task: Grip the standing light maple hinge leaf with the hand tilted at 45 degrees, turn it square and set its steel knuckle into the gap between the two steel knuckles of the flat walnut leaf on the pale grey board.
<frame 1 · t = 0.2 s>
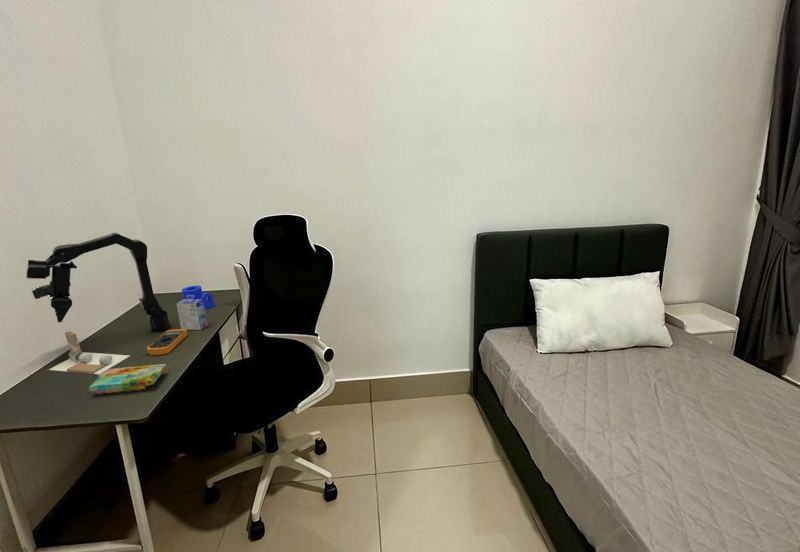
hand: (58, 319, 178), 15 cm above the table, tool tilted 15°, fingers open, 9 cm apart
ink cartridge box: (195, 327, 202), on the table
puzzle game: (131, 385, 158), on the table
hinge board: (97, 365, 173), on the table
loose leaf: (78, 359, 176), point 1 cm above the table, touching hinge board
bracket: (200, 305, 230), on the table
multimeter: (168, 346, 186), on the table
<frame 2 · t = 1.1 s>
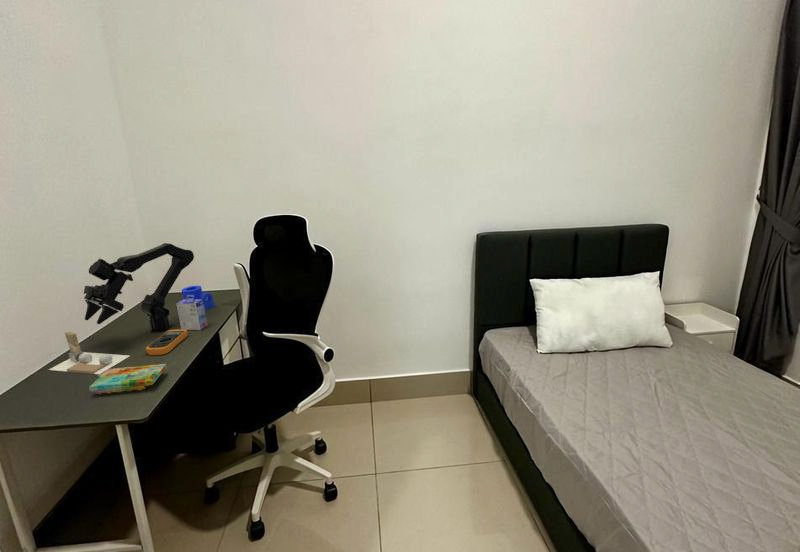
hand: (91, 321, 178), 13 cm above the table, tool tilted 45°, fingers open, 9 cm apart
nothing on the table moved.
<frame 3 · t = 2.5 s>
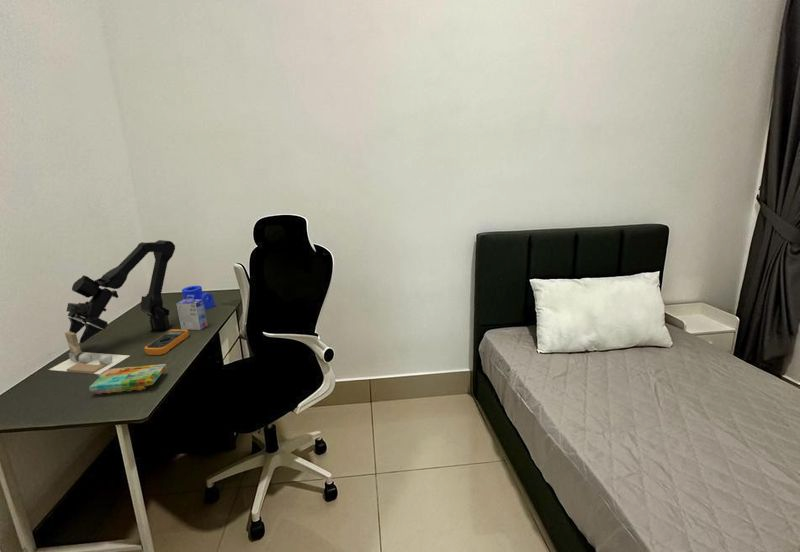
hand: (74, 340, 174), 9 cm above the table, tool tilted 45°, fingers open, 9 cm apart
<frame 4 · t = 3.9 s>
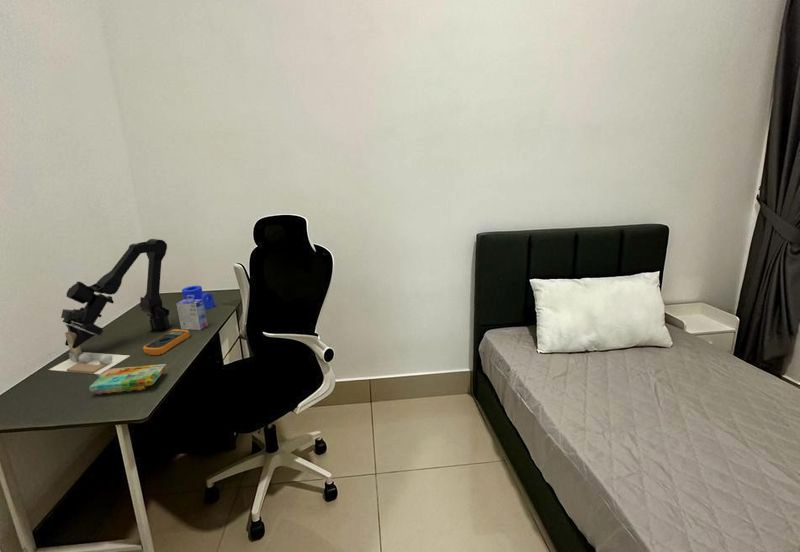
hand: (69, 346, 173), 7 cm above the table, tool tilted 45°, fingers closed on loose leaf, 5 cm apart
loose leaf: (78, 359, 176), point 1 cm above the table, touching gripper, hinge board
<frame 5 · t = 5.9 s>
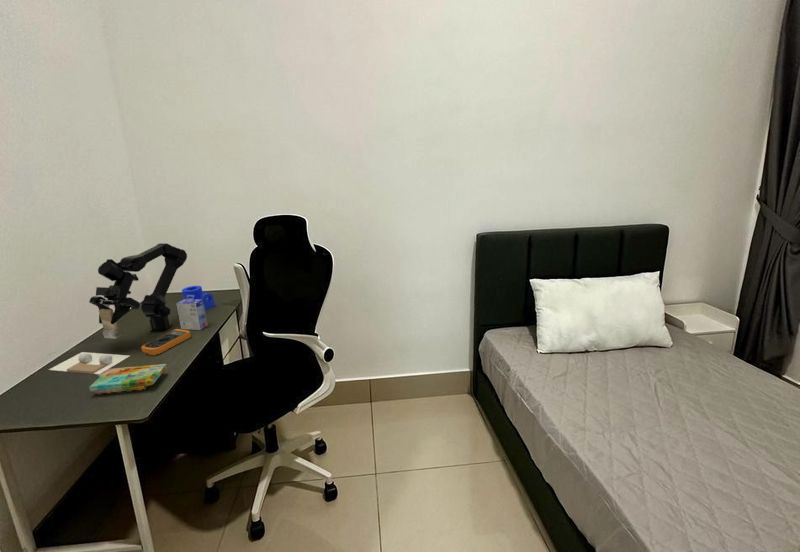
hand: (106, 323, 176), 13 cm above the table, tool tilted 45°, fingers closed on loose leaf, 5 cm apart
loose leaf: (113, 336, 179), point 7 cm above the table, touching gripper
when the fingers open (8 cm above the table, at t = 8.3 s): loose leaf stays where it is, resting on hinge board.
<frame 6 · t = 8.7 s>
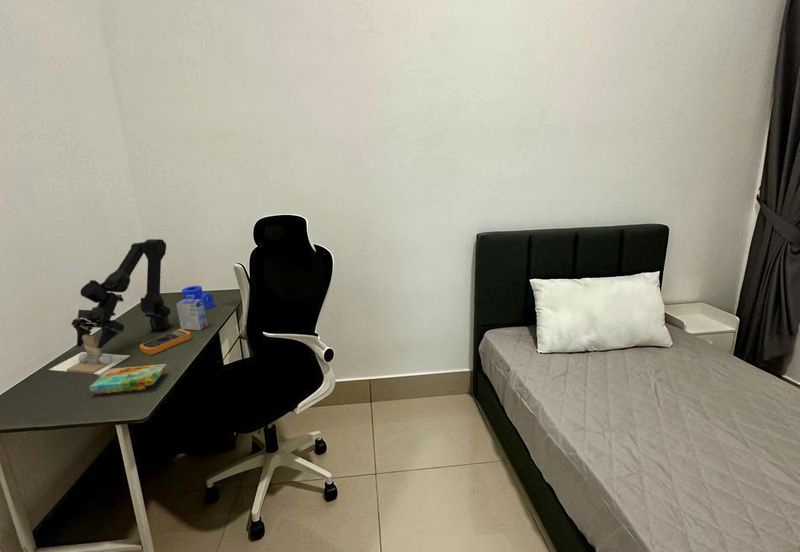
hand: (88, 347, 169), 8 cm above the table, tool tilted 45°, fingers open, 9 cm apart
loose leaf: (96, 362, 172), point 1 cm above the table, touching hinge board
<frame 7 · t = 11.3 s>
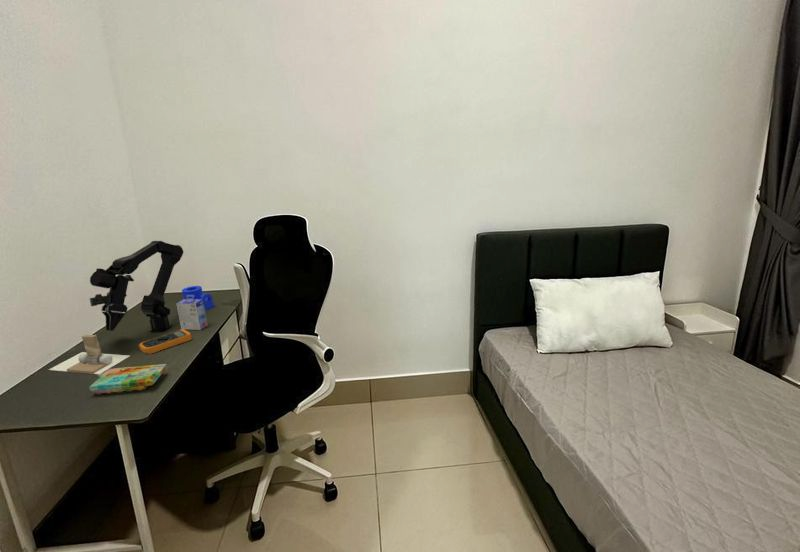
hand: (109, 330, 180), 9 cm above the table, tool tilted 30°, fingers open, 9 cm apart
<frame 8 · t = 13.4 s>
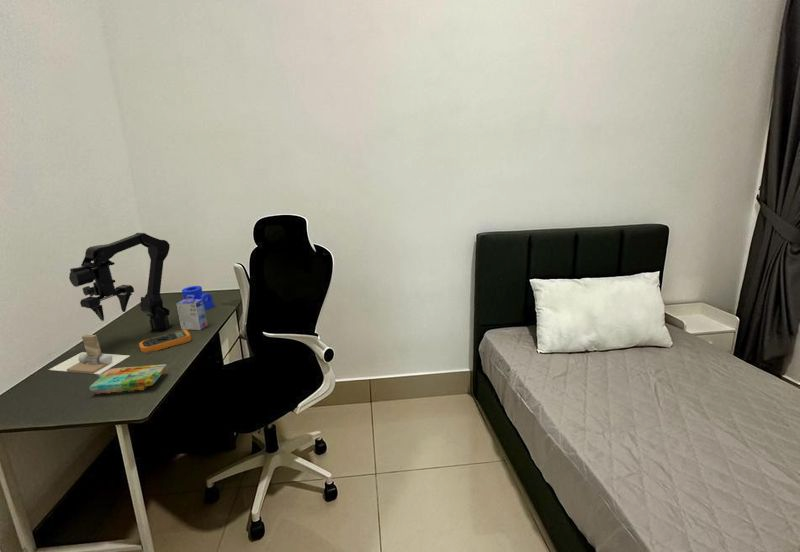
hand: (113, 316, 184), 13 cm above the table, tool pointing down, fingers open, 9 cm apart
at the end: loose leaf 0.1 cm off-centre on the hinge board, point 1.0 cm above the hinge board's base; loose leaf tilted 0°; the gripper is holding nothing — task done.
